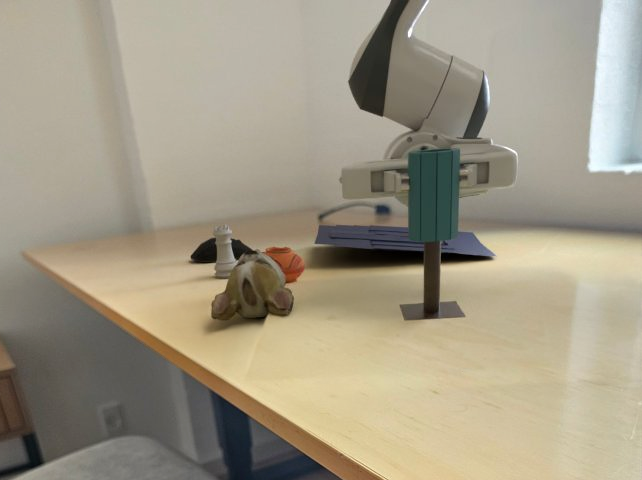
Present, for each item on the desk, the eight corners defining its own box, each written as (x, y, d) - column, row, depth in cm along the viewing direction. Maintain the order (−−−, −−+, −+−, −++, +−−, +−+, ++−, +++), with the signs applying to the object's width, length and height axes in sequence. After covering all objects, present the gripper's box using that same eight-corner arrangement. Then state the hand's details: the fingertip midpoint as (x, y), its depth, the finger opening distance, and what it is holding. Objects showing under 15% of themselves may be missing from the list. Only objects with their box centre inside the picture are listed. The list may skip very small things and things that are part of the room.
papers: (318, 237, 130) (319, 218, 129) (470, 246, 129) (473, 227, 128) (312, 263, 109) (314, 240, 107) (494, 273, 108) (498, 250, 106)
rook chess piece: (225, 272, 114) (219, 224, 110) (246, 273, 112) (240, 224, 108) (209, 278, 111) (202, 228, 107) (230, 279, 109) (224, 229, 105)
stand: (456, 312, 82) (459, 211, 76) (465, 329, 76) (469, 220, 70) (399, 316, 82) (398, 215, 77) (404, 332, 76) (404, 225, 71)
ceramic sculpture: (294, 234, 90) (287, 263, 77) (300, 295, 94) (294, 333, 81) (217, 240, 90) (198, 270, 78) (227, 301, 95) (210, 339, 82)
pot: (260, 280, 104) (266, 237, 101) (307, 292, 103) (314, 249, 100) (241, 291, 98) (247, 245, 94) (290, 304, 96) (298, 258, 93)
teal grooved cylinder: (453, 231, 77) (455, 147, 73) (460, 239, 72) (463, 149, 68) (406, 234, 77) (405, 151, 73) (411, 243, 72) (410, 154, 68)
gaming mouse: (269, 257, 123) (267, 235, 122) (190, 264, 122) (187, 242, 120) (267, 251, 129) (265, 230, 127) (191, 258, 128) (188, 237, 126)
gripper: (337, 150, 83) (337, 157, 70) (502, 136, 81) (532, 140, 69) (340, 203, 85) (340, 219, 73) (500, 190, 84) (527, 204, 72)
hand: (434, 181), depth 71 cm, fingers closed on teal grooved cylinder, 5 cm apart
